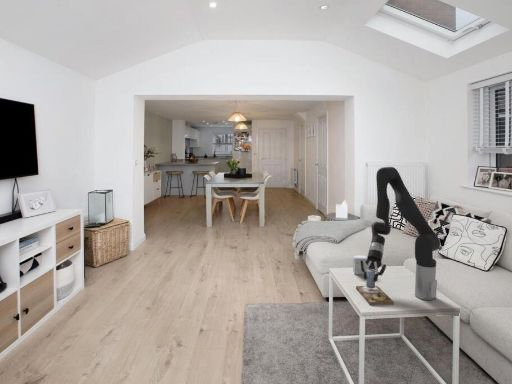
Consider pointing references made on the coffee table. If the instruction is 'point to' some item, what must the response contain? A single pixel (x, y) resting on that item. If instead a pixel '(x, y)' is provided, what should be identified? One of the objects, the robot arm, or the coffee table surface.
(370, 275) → the blue-grey cylinder
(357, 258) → the small box
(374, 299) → the gear board
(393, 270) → the coffee table surface
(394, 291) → the coffee table surface
